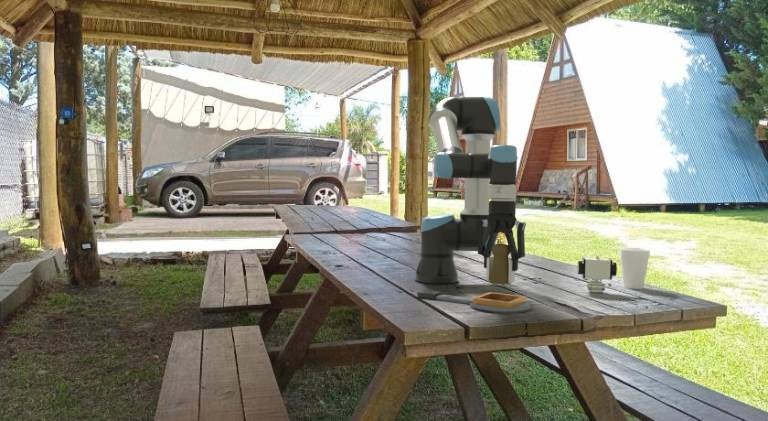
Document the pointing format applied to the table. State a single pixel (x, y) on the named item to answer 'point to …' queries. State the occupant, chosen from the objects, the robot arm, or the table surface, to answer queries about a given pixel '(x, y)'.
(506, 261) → the cork
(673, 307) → the table surface
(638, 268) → the foam cup
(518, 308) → the round pan with handle
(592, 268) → the pneumatic valve
